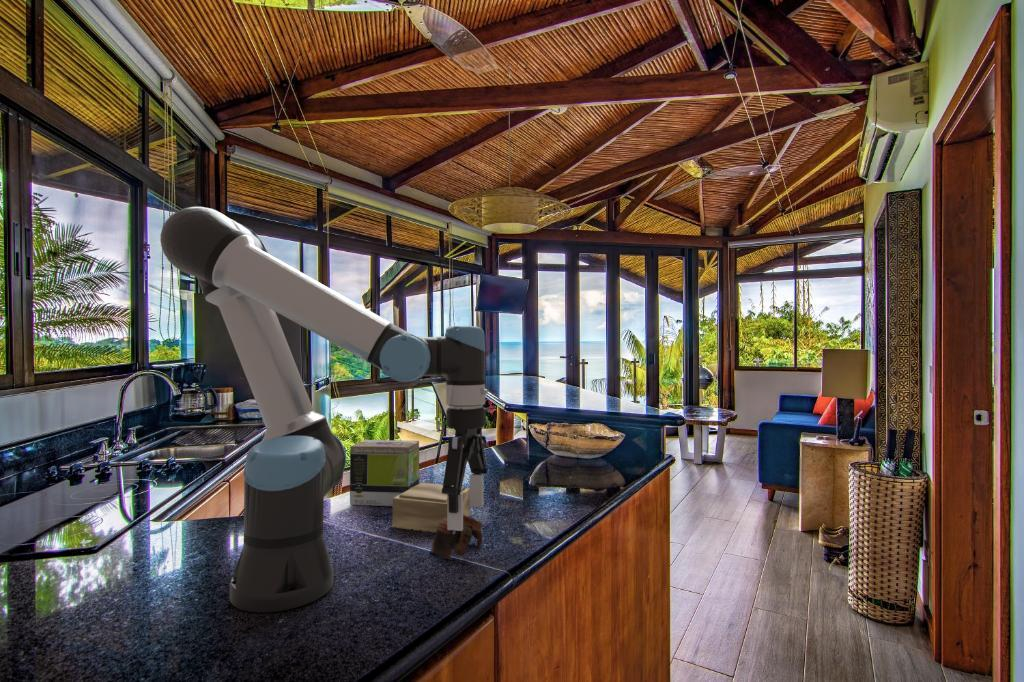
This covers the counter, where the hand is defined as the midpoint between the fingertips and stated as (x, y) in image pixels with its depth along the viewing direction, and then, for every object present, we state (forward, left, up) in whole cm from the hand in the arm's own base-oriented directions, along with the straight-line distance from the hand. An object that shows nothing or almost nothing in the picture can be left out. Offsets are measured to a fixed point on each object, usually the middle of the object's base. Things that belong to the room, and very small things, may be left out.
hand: (466, 517), depth 100 cm
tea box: (+26, +29, -7) cm, 40 cm away
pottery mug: (0, +1, -7) cm, 7 cm away
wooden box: (+15, +12, -7) cm, 21 cm away
